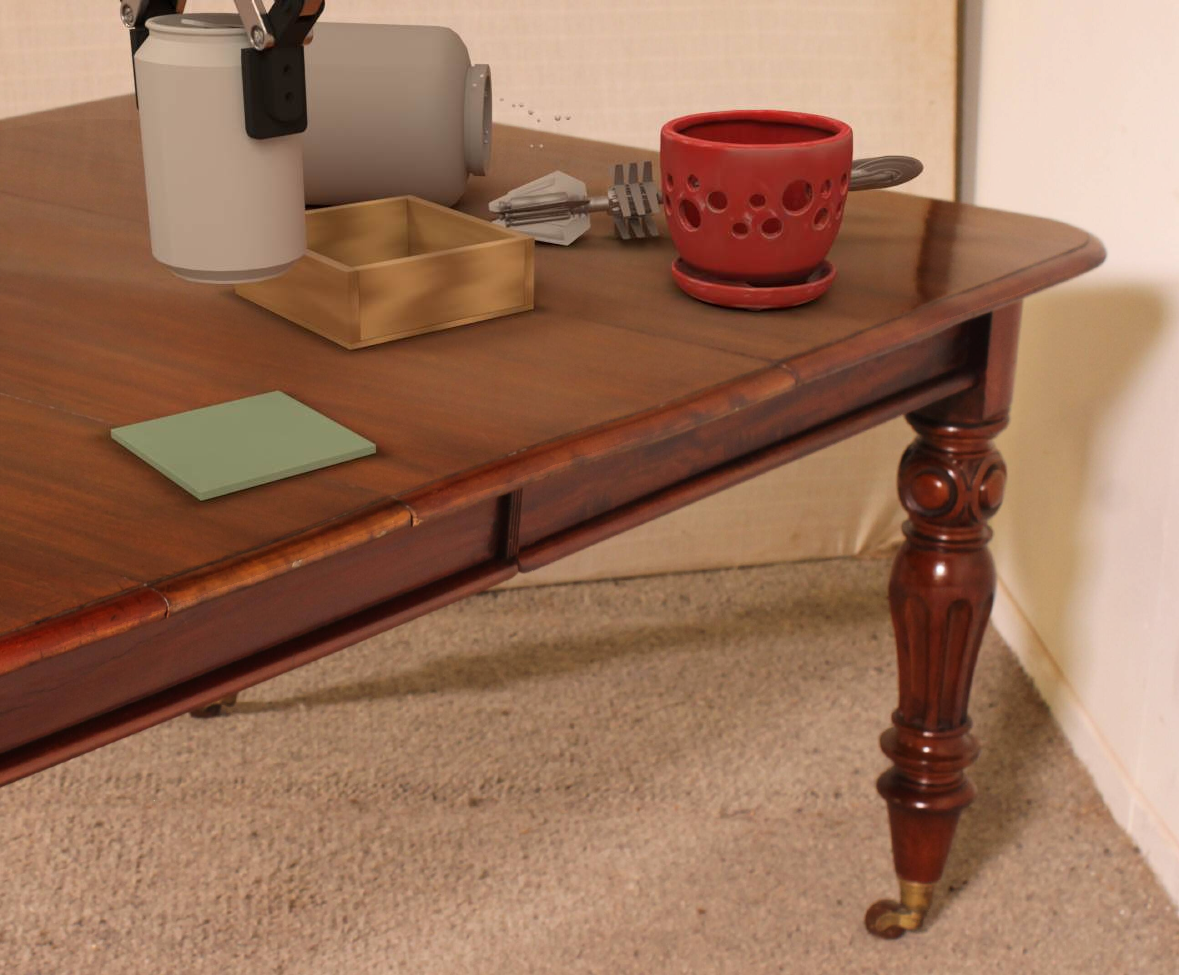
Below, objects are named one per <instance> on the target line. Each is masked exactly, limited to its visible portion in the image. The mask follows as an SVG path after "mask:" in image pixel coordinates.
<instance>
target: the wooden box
mask: <svg viewBox="0 0 1179 975" xmlns="http://www.w3.org/2000/svg"><path fill="white" fill-rule="evenodd" d="M305 222H306V243H307V252H306V253H305V254H304V255H303V256H301V257H300V258H299V259H298V260H297V261H296V262H295V263H294V264H293V265H292V266H293V267H292V268H291V269H290V270H289V271H288V272H287V273H286V274H283V275H281V276H278V277H276V278H272V279H268V280H263V281H259V282H251V283H242V284H234V293H235V295H237V296H239V297H241V298H243V299H245V300H247V301H249V302H251V303H253V304H256V305H258V306H259V307H262V308H263V309H265V310H268V311H270V312H272V313H273V314H275V315H277V316H280V317H282V318H284V319H286V320H288V321H290V322H292V323H294V324H296V325H298V326H300V327H302V328H305V329H307V330H309V331H311V332H313V333H315V334H317V335H319V336H320V337H323V338H325V339H327V340H329V341H330V342H333V343H335V344H338V345H339V346H341V347H343V348H345V349H347V350H349V351H352V350H357V349H361V348H365V347H370V346H375V345H380V344H384V343H389V342H393V341H396V340H401V339H406V338H410V337H411V338H412V337H415V336H420V335H424V334H429V333H432V332H438V331H442V330H447V329H451V328H455V327H459V326H464V325H469V324H473V323H478V322H482V321H486V320H490V319H497V318H501V317H506V316H509V315H514V314H518V313H523V312H527V311H532V310H535V262H536V261H535V255H536V254H535V253H536V251H535V250H536V248H535V247H536V240H535V237H532V236H529V235H526V234H523V233H521V232H518V231H515V230H512V229H509V228H506V227H503V226H500V225H497V224H494V223H492V221H488V220H485V219H482V218H479V217H476V216H473V215H470V214H468V213H464V212H462V211H459V210H455V209H453V208H451V207H449V208H447V207H444V206H441V205H438V204H435V203H432V202H429V201H427V200H424V199H421V198H418V197H415V196H412V195H406V196H399V197H393V198H386V199H380V200H373V201H367V202H360V203H354V204H347V205H341V206H334V205H333V206H328V207H322V208H315V209H309V210H305Z"/></svg>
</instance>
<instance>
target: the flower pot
mask: <svg viewBox="0 0 1179 975" xmlns="http://www.w3.org/2000/svg"><path fill="white" fill-rule="evenodd" d="M659 141H660V142H659V170H660V179H661V181H660V182H661V185H660V186H661V190H662V198H663V204H662V206H663V211H664V216H665V220H666V225H667V228H668V230H669V234H670V237H671V239H672V242H673V244H674V246H675V248H676V250H677V252H678V254H679V255H678V256H676V257H675V258H674V259H673V261H672V262H671V265H670V272H671V273H670V274H671V277H672V278H673V280H674V282H675V283H676V285H677V286H678V287H679V288H680V289H681V290H682V291H683V292H685V293H686V294H687V295H688V296H690V297H693V298H695V299H696V300H699V301H702V302H703V303H704V302H705V303H708V304H712V305H717V306H722V307H728V308H736V309H746V310H747V311H751V312H759V311H761V310H769V309H770V310H771V309H782V308H791V307H795V306H800V305H803V304H806V303H809V302H811V301H813V300H815V299H817V298H819V297H820V296H822V295H823V294H824V293H825V292H827V291H828V289H829V288H830V287H831V286H832V285H833V283H834V281H835V279H836V277H837V276H836V275H837V269H836V267H835V265H834V264H833V263H832V262H831V261H829V260H828V259H827V258H826V257H827V256H828V254H829V252H830V250H831V249H832V247H833V245H834V243H835V240H836V237H837V236H838V233H839V231H840V228H841V224H842V221H843V217H844V212H845V207H846V202H847V197H848V194H849V191H848V189H849V185H850V179H851V171H852V161H853V159H854V131H853V128H852V127H851V126H850V125H849V124H847V123H846V122H844V121H842V120H840V119H837V118H833V117H830V116H826V115H820V114H815V113H808V112H801V111H800V112H799V111H792V110H779V109H732V110H731V109H730V110H717V111H709V112H708V111H707V112H700V113H693V114H688V115H683V116H680V117H678V118H677V117H676V118H673V119H671V120H669V121H667V122H666V123H664V124H663V125H662V126H661V129H660V139H659ZM697 180H698V182H699V188H698V189H696V188H695V183H696V181H697ZM809 190H810V192H809Z"/></svg>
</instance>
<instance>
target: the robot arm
mask: <svg viewBox="0 0 1179 975" xmlns="http://www.w3.org/2000/svg"><path fill="white" fill-rule="evenodd" d="M187 1H188V0H119V2H120V6H119V7H120V8H119V15H120V19H121V23H123V25H124V26H125V27H126V28H128V29H129V31H128V32H129V39H130V51H131V62H132V73H133V82H134V84H133V85H134V94H135V104H136V109H137V111H138V112H139V105H138V94H137V83H136V73H135V62H134V55H135V53H136V52H137V50H138V49H139V48H140V47H141V45H142V44H143V43H144V41H145V40H146V39H147V38H148V36H149V35H150V34H149V29H148V28H147V27H146V26H145V23H146V21H147V20H148V19H150V18H153V17H157V16H164V15H172V14H184V12H185V8H186V6H187ZM233 3H234V5H235V8H236V11H237V13H239V15H240V18H241V20H242V23H243V25H244V28H245V30H246V33H247V35H248V38H249V40H250V42H251V44H252V46H253V47H251V48H243V49H241V68H242V83H243V98H244V114H245V129H246V132H247V135H248V136H249V137H250V138H253V139H258V140H263V139H269V138H275V137H280V136H286V135H292V134H298V133H303V132H304V131H305V130H306V129H307V125H308V120H307V100H306V80H305V59H304V45H308V44H310V43H311V42H312V39H313V26H314V24H315V23H316V22H318V20H319V18H320V17H321V15H322V14H323V12H324V10H325V9H326V8H325V7H326V0H273V4H272V5H271V7H270V8H269V10H268V11H267V8H266V7H265V4H264V2H263V0H233Z"/></svg>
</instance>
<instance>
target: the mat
mask: <svg viewBox="0 0 1179 975" xmlns="http://www.w3.org/2000/svg"><path fill="white" fill-rule="evenodd" d="M110 436H111V439H113V440H114V441H116V442H117V443H118V444H120V445H121V446H122V447H124V448H125V449H127V450H128V451H130V452H131V453H132V454H134V455H135V456H136V457H138V458H139V459H141V460H142V461H143V462H145V463H146V464H148V465H149V466H151V467H152V468H154V469H155V470H156V471H158V472H159V473H161V474H162V475H163V476H165V477H166V478H168V479H169V480H170V481H172V482H173V483H175V484H176V485H178V486H179V487H181V488H182V490H185V491H187V493H189V494H191V495H192V496H193V497H194V498H196V499H197V500H199V501H201V502H203V501H206V500H211V499H214V498H217V497H221V496H224V495H229V494H232V493H235V492H239V491H243V490H247V489H250V488H254V487H257V486H260V485H261V486H262V485H265V484H268V483H269V484H270V483H272V482H275V481H279V480H282V479H287V478H291V477H293V476H294V477H295V476H298V475H301V474H304V473H309V472H311V471H312V472H313V471H315V470H320V469H322V468H327V467H330V466H334V465H338V464H341V463H344V462H347V461H348V462H350V461H352V460H355V459H356V460H357V459H360V458H363V457H367V456H370V455H374V454H376V453H377V444H376V443H374V442H372V441H370V440H368V439H366V438H365V437H364V436H361V435H359V434H358V433H357V432H354V431H352V430H351V429H349V428H347V427H346V426H343V425H342V424H340V423H338V422H336V421H334V420H332V419H331V418H329V417H327V416H325V415H324V414H322V413H320V412H318V411H316V410H315V409H313V408H311V407H309V406H307V405H306V404H304V403H302V402H300V401H299V400H297V399H295V398H293V397H291V396H289V395H288V394H286V393H285V392H282V391H281V390H274V391H270V392H266V393H260V394H257V395H252V396H247V397H244V398H240V399H236V400H232V401H227V402H222V403H219V404H218V403H217V404H214V405H209V406H205V407H201V408H198V409H193V410H189V411H188V410H187V411H185V412H180V413H176V414H172V415H167V416H163V417H159V418H154V419H150V420H146V421H141V422H137V423H133V424H128V425H125V426H124V425H123V426H121V427H115V428H111V429H110Z"/></svg>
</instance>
